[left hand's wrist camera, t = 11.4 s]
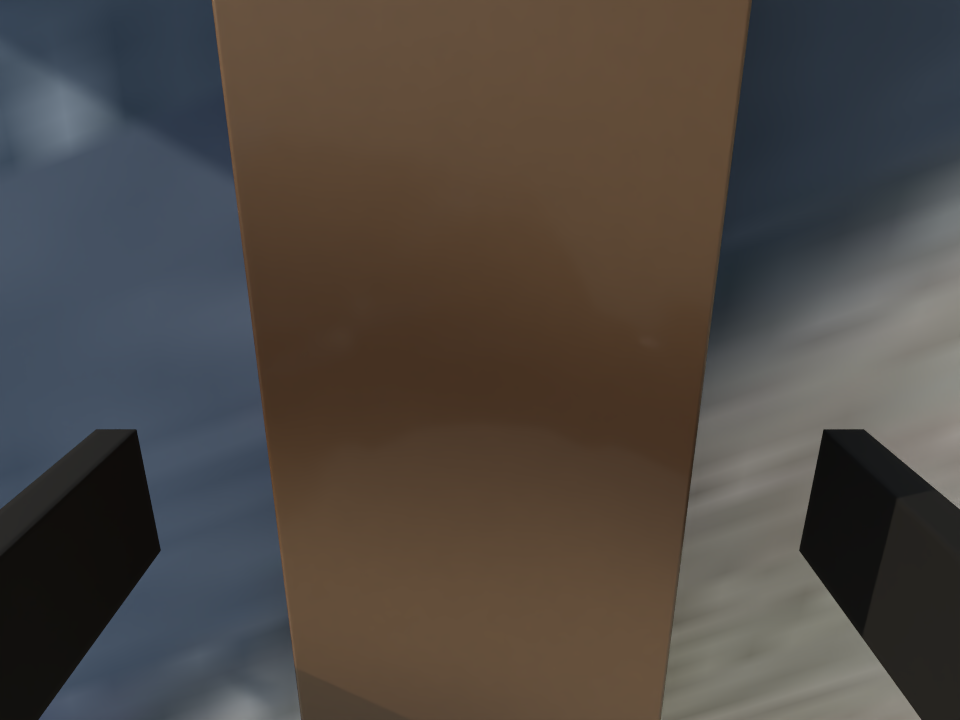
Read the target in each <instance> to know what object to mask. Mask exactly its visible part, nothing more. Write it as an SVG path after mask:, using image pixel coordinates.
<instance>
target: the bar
mask: <svg viewBox="0 0 960 720" xmlns="http://www.w3.org/2000/svg"><path fill="white" fill-rule="evenodd" d="M751 4H752V0H212V6H213V14H214V22H215V30H216V38H217V46H218V54H219V62H220V71H221V79H222V87H223V95H224V103H225V111H226V119H227V127H228V135H229V143H230V151H231V159H232V167H233V175H234V183H235V191H236V199H237V207H238V215H239V223H240V231H241V239H242V247H243V255H244V263H245V271H246V279H247V287H248V295H249V303H250V311H251V319H252V327H253V336H254V344H255V352H256V360H257V368H258V376H259V384H260V392H261V400H262V408H263V416H264V424H265V432H266V440H267V448H268V456H269V464H270V472H271V480H272V488H273V496H274V504H275V512H276V520H277V528H278V536H279V544H280V552H281V560H282V568H283V576H284V584H285V592H286V601H287V609H288V617H289V625H290V633H291V641H292V649H293V657H294V665H295V673H296V681H297V689H298V697H299V705H300V713H301V720H661V712H662V704H663V697H664V689H665V681H666V673H667V665H668V657H669V649H670V641H671V634H672V626H673V618H674V610H675V602H676V594H677V586H678V578H679V571H680V563H681V555H682V547H683V539H684V531H685V523H686V516H687V508H688V500H689V492H690V484H691V476H692V468H693V460H694V453H695V445H696V437H697V429H698V421H699V413H700V405H701V398H702V390H703V382H704V374H705V366H706V358H707V350H708V342H709V335H710V327H711V319H712V311H713V303H714V295H715V287H716V280H717V272H718V264H719V256H720V248H721V240H722V232H723V224H724V217H725V209H726V201H727V193H728V185H729V177H730V169H731V161H732V154H733V146H734V138H735V130H736V122H737V114H738V106H739V99H740V91H741V83H742V75H743V67H744V59H745V51H746V43H747V36H748V28H749V20H750V12H751Z"/></svg>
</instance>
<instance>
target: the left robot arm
mask: <svg viewBox="0 0 960 720" xmlns="http://www.w3.org/2000/svg"><path fill="white" fill-rule="evenodd" d="M160 551H161V549H160V544H159V539H158V534H157V530H156V525H155V520H154V515H153V510H152V505H151V500H150V495H149V490H148V485H147V480H146V475H145V470H144V465H143V460H142V455H141V450H140V445H139V440H138V435H137V430H136V429H96V430H95V431H94V432H93V433H91V434H90V435H89V436H88V437H87V438H85V439H84V440H83V441H82V442H81V443H79V444H78V445H77V446H76V447H75V448H73V449H72V450H71V451H70V452H69V453H67V454H66V455H65V456H64V457H63V458H61V459H60V460H59V461H58V462H57V463H55V464H54V465H53V466H52V467H51V468H49V469H48V470H47V471H46V472H45V473H43V474H42V475H41V476H40V477H39V478H37V479H36V480H35V481H34V482H33V483H31V484H30V485H29V486H28V487H27V488H25V489H24V490H23V491H22V492H21V493H19V494H18V495H17V496H16V497H15V498H13V499H12V500H11V501H10V502H9V503H7V504H6V505H5V506H4V507H3V508H1V509H0V720H38V719H39V718H40V717H41V715H42V714H43V713H44V711H45V710H46V708H47V707H48V706H49V704H50V703H51V701H52V700H53V699H54V697H55V696H56V695H57V693H58V692H59V690H60V689H61V688H62V686H63V685H64V683H65V682H66V681H67V679H68V678H69V677H70V675H71V674H72V672H73V671H74V670H75V668H76V667H77V666H78V664H79V663H80V661H81V660H82V659H83V657H84V656H85V654H86V653H87V652H88V650H89V649H90V648H91V646H92V645H93V643H94V642H95V641H96V639H97V638H98V637H99V635H100V634H101V632H102V631H103V630H104V628H105V627H106V625H107V624H108V623H109V621H110V620H111V619H112V617H113V616H114V614H115V613H116V612H117V610H118V609H119V607H120V606H121V605H122V603H123V602H124V601H125V599H126V598H127V596H128V595H129V594H130V592H131V591H132V590H133V588H134V587H135V585H136V584H137V583H138V581H139V580H140V578H141V577H142V576H143V574H144V573H145V572H146V570H147V569H148V567H149V566H150V565H151V563H152V562H153V561H154V559H155V558H156V556H157V555H158V554H159V552H160ZM799 551H800V552H801V554H802V555H803V556H804V558H805V559H806V561H807V562H808V563H809V565H810V566H811V567H812V569H813V570H814V572H815V573H816V574H817V576H818V577H819V578H820V580H821V581H822V583H823V584H824V585H825V587H826V588H827V590H828V591H829V592H830V594H831V595H832V596H833V598H834V599H835V601H836V602H837V603H838V605H839V606H840V607H841V609H842V610H843V612H844V613H845V614H846V616H847V617H848V619H849V620H850V621H851V623H852V624H853V625H854V627H855V628H856V630H857V631H858V632H859V634H860V635H861V637H862V638H863V639H864V641H865V642H866V643H867V645H868V646H869V648H870V649H871V650H872V652H873V653H874V654H875V656H876V657H877V659H878V660H879V661H880V663H881V664H882V666H883V667H884V668H885V670H886V671H887V672H888V674H889V675H890V677H891V678H892V679H893V681H894V682H895V683H896V685H897V686H898V688H899V689H900V690H901V692H902V693H903V695H904V696H905V697H906V699H907V700H908V701H909V703H910V704H911V706H912V707H913V708H914V710H915V711H916V713H917V714H918V715H919V717H920V718H921V719H922V720H960V509H959V508H957V507H956V506H955V505H954V504H953V503H951V502H950V501H949V500H948V499H947V498H945V497H944V496H943V495H942V494H941V493H939V492H938V491H937V490H936V489H935V488H933V487H932V486H931V485H930V484H929V483H927V482H926V481H925V480H924V479H923V478H921V477H920V476H919V475H918V474H917V473H915V472H914V471H913V470H912V469H911V468H909V467H908V466H907V465H906V464H905V463H903V462H902V461H901V460H900V459H899V458H897V457H896V456H895V455H894V454H893V453H891V452H890V451H889V450H888V449H887V448H885V447H884V446H883V445H882V444H881V443H879V442H878V441H877V440H876V439H875V438H873V437H872V436H871V435H870V434H869V433H867V432H866V431H865V430H864V429H824V430H823V435H822V440H821V445H820V450H819V455H818V460H817V465H816V470H815V475H814V480H813V485H812V490H811V495H810V500H809V505H808V510H807V515H806V520H805V525H804V529H803V534H802V539H801V544H800V549H799Z"/></svg>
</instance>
